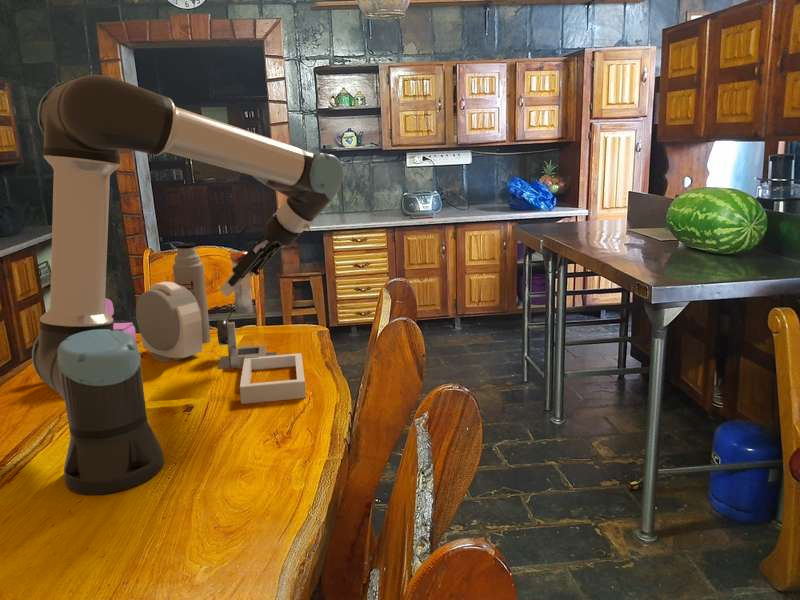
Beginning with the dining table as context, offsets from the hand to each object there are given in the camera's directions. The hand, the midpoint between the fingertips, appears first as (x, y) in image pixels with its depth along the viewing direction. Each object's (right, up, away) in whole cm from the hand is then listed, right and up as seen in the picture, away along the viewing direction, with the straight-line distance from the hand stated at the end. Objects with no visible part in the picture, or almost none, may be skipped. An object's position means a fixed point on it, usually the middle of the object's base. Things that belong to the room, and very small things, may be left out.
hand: (229, 290), depth 150 cm
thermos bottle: (-16, -14, +26) cm, 34 cm away
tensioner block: (+3, -19, +6) cm, 20 cm away
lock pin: (+4, -5, 0) cm, 6 cm away
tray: (+13, -22, -8) cm, 26 cm away
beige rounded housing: (-18, -18, +12) cm, 28 cm away
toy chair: (-35, -17, +18) cm, 43 cm away
